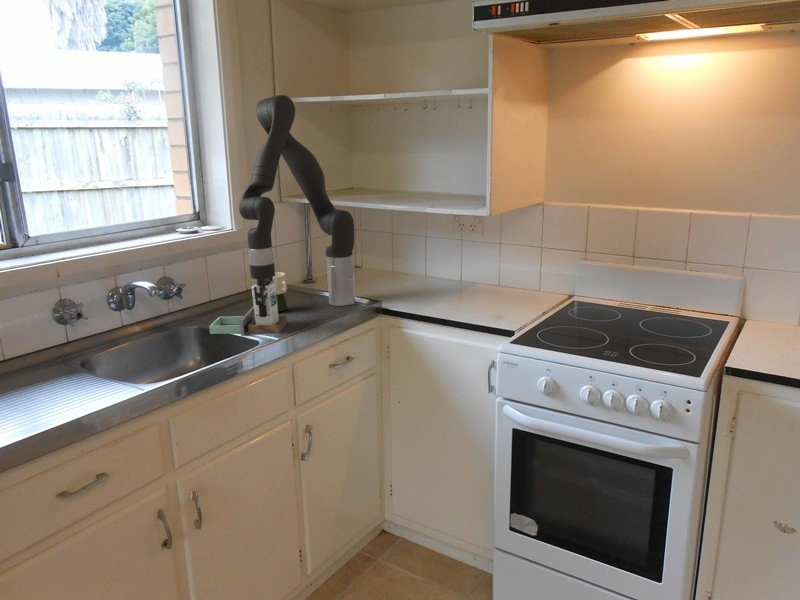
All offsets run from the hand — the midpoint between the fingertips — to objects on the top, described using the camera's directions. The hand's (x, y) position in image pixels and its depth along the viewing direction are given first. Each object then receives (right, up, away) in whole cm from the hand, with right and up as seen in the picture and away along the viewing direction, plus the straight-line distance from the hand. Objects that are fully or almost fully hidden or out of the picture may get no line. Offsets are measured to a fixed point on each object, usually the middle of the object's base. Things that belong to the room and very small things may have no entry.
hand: (266, 313), depth 197 cm
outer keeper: (-12, -5, +2) cm, 13 cm away
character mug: (0, 0, +19) cm, 19 cm away
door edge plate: (-6, -5, +2) cm, 8 cm away
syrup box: (0, -5, +1) cm, 5 cm away
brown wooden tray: (0, -5, +1) cm, 5 cm away
